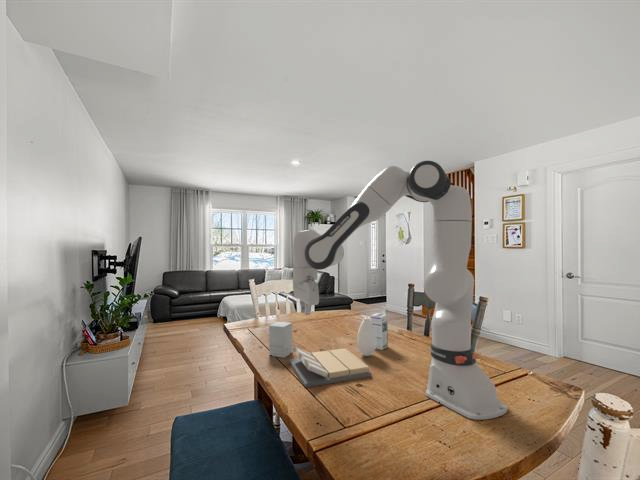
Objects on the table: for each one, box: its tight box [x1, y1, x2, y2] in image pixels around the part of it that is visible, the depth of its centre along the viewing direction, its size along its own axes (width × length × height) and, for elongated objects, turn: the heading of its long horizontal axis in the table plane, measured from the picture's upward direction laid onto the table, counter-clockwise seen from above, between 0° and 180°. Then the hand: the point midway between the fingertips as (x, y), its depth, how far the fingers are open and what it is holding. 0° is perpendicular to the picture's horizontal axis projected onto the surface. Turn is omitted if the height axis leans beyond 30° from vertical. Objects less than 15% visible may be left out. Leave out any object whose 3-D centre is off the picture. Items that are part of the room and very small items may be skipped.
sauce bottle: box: [356, 311, 377, 357], centre depth 124 cm, size 8×8×18 cm
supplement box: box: [268, 321, 293, 358], centre depth 126 cm, size 7×7×13 cm
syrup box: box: [369, 312, 389, 351], centre depth 134 cm, size 6×6×14 cm
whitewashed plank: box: [292, 345, 328, 377], centre depth 108 cm, size 20×7×2 cm, turn 20°
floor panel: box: [288, 348, 372, 388], centre depth 110 cm, size 22×24×3 cm
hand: (305, 313), depth 108 cm, fingers open, 3 cm apart
